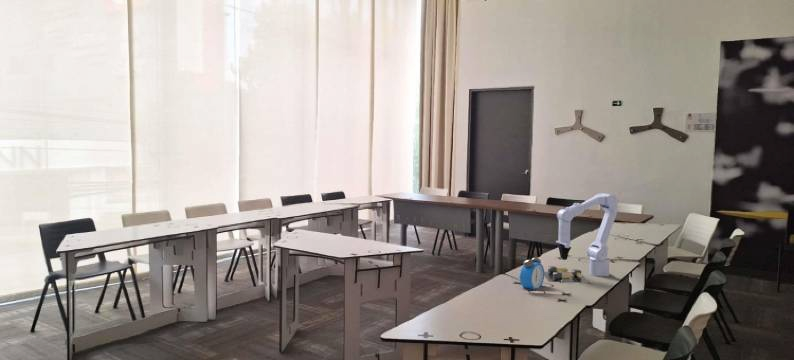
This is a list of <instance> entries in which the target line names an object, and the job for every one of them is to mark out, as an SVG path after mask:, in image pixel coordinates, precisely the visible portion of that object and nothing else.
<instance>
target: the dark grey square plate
mask: <svg viewBox="0 0 794 360" xmlns="http://www.w3.org/2000/svg"><path fill="white" fill-rule="evenodd" d="M561 273H562V274H572V272H571V271H570V272H569V271H567V272H561ZM581 275H582V278H575V277H572V278H562V280H553V274H549V273H548V271H544V278H545V279H546V281H548V282H549V283H581V284H582V283H585V284H586V283H587V284H588V283H589V284H590V281H589V280H588V279H587V278H586V276H584V275H583V274H582V273H581Z"/></svg>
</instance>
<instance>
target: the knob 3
mask: <svg viewBox="0 0 794 360" xmlns="http://www.w3.org/2000/svg"><path fill="white" fill-rule="evenodd" d="M571 271H572V274H573V277H575V278H582V275H583V274H582V270H581V269H572V270H571ZM581 274H582V275H581Z"/></svg>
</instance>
